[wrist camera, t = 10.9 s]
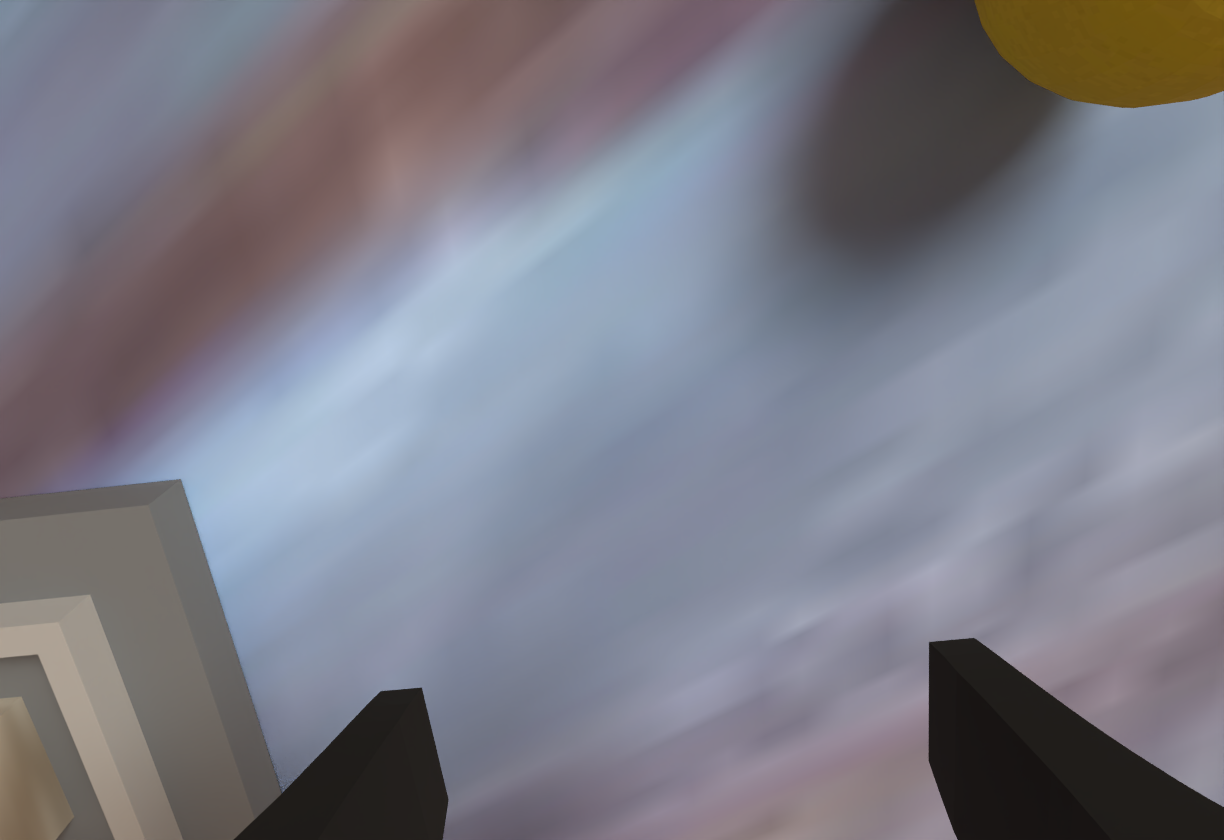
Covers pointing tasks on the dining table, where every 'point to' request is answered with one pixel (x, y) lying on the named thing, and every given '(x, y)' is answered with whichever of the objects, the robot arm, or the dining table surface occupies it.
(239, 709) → the base
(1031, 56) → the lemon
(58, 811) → the block
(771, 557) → the dining table surface
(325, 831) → the robot arm
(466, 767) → the dining table surface
